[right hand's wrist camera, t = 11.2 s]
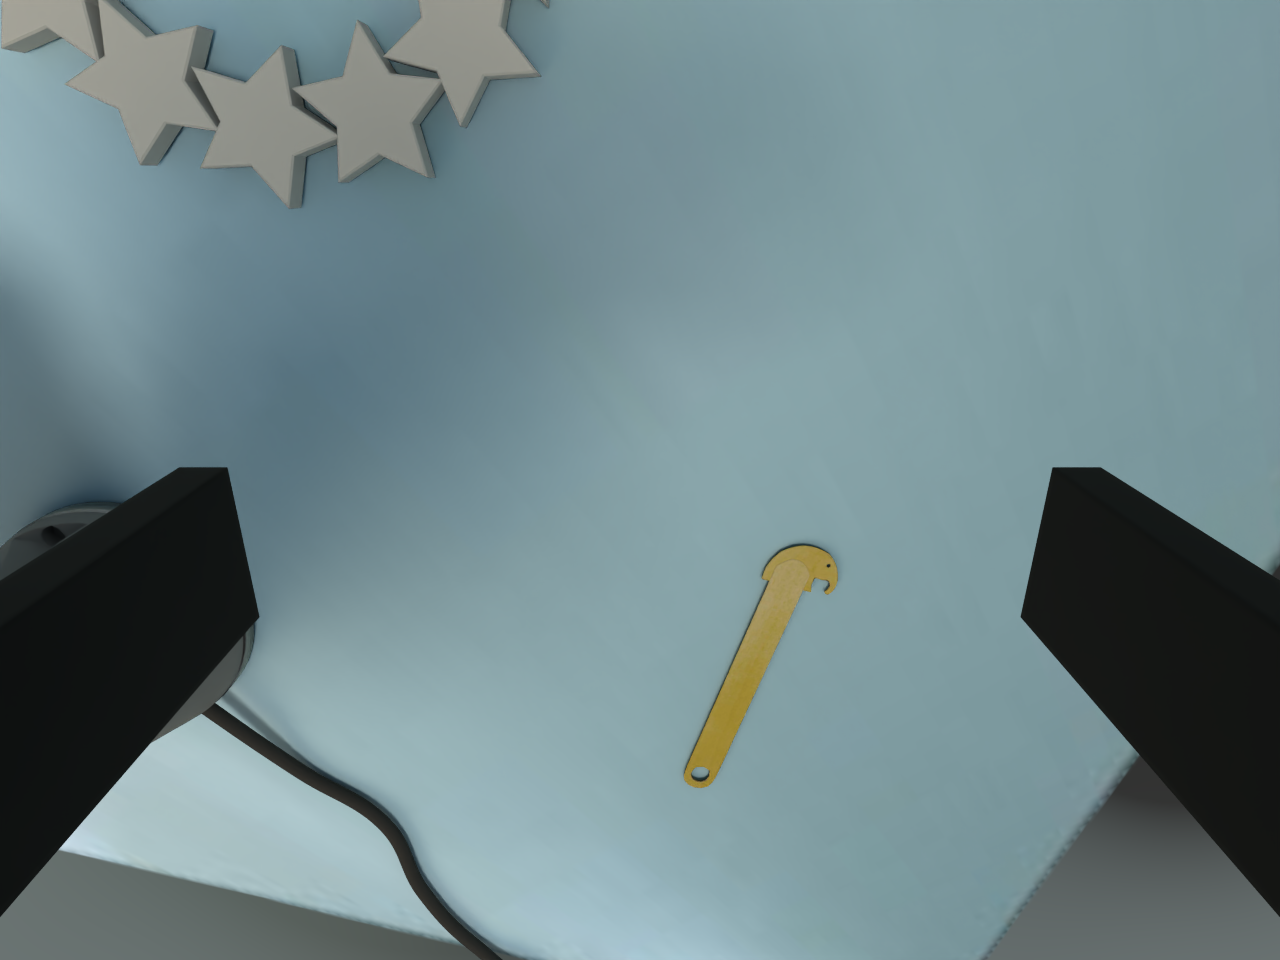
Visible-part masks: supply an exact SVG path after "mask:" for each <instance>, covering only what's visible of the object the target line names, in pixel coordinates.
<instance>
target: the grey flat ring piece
mask: <svg viewBox="0 0 1280 960" xmlns="http://www.w3.org/2000/svg"><path fill="white" fill-rule="evenodd" d="M541 1H542V2H543V3H544V4H545V5H546V6H547V7H548V8H549V0H541ZM510 3H511V0H419V7H420V13H421V18H420V19H419V20H418V21H417V22H416V23H415V24H414V25H413V26H412V27H411V28H410V29H409V30H408V31H407V32H406V33H405V34H404V35H403V36H402V37H401V38H400V39H399V41H398V42H397V43H396V44H395V45H394V46H393V47H392V48H391V49H390V50H389V51H388V52H387V53H386V54H384V52H383V50H382V49H381V47H380V45H379V44H378V42H377V40H376V39H375V37H374V35H373V34H372V32H371V30H370V29H369V27H368V25H366V24H364V23H362V22H360V21H359V20H357V22H356V26H355V30H354V34H353V37H352V41H351V45H350V49H349V53H348V57H347V61H346V64H345V68H344V72H343V76H341V77H337V78H333V79H328V80H324V81H320V82H315V83H311V84H307V85H303V86H300V80H299V74H298V69H297V63H296V57H295V51H294V49H291V48H288V47H285V46H283V45H281V46H280V47H279V48H278V49H277V50H276V51H275V52H274V53H273V54H272V55H271V56H270V57H269V59H268V60H267V61H266V62H265V63H264V64H263V65H262V66H261V67H260V68H259V69H258V70H257V71H256V72H255V73H254V74H253V76H252V77H251V78H250V79H249V80H248V81H247V82H244V81H241V80H237V79H234V78H231V77H228V76H224V75H221V74H218V73H215V72H212V71H208V70H205V69H204V68H205V64H206V60H207V56H208V52H209V48H210V43H211V39H212V35H213V30H210V29H207V28H204V27H201V26H198V25H196V26H192V27H188V28H183V29H179V30H175V31H171V32H166V33H162V34H158V35H156V34H155V33H153V32H152V31H151V30H150V29H149V28H148V27H147V26H146V25H145V24H143V23H142V22H141V21H140V20H139V19H138V18H137V17H136V16H135V15H133V14H132V13H131V12H130V11H129V10H128V9H127V8H126V7H125V6H123V5H122V4H121V3H120V2H119V1H118V0H2V49H7V50H12V51H17V52H22V53H26V52H28V51H30V50H33V49H35V48H37V47H39V46H42V45H44V44H46V43H48V42H51V41H53V40H55V39H57V38H60V37H62V38H63V39H65V40H66V41H67V42H69V43H70V44H72V45H73V46H75V47H76V48H78V49H79V50H81V51H82V52H84V53H85V54H86V55H88V56H89V57H91V58H92V59H94V60H95V61H96V62H95V63H93V64H92V65H91V66H89V67H88V68H86V69H85V70H83V71H82V72H81V73H79V74H78V75H76V76H75V77H74V78H72V79H71V80H69V81H68V82H66V83H65V85H67V86H69V87H72V88H74V89H76V90H78V91H80V92H82V93H85V94H87V95H89V96H91V97H93V98H95V99H98V100H100V101H102V102H104V103H106V104H108V105H111V106H113V107H115V108H117V109H118V110H119V112H120V115H121V117H122V120H123V123H124V125H125V128H126V130H127V133H128V136H129V138H130V141H131V143H132V146H133V148H134V151H135V154H136V156H137V159H138V161H139V164H140V165H153V166H157V165H158V164H159V162H160V160H161V159H162V157H163V156H164V154H165V153H166V151H167V150H168V148H169V147H170V145H171V143H172V142H173V140H174V139H175V137H176V136H177V134H178V133H179V131H180V129H181V128H182V126H185V127H192V128H198V129H205V130H212V131H216V132H215V135H214V137H213V139H212V142H211V144H210V146H209V149H208V151H207V153H206V156H205V158H204V160H203V162H202V165H201V167H200V168H204V169H219V168H238V167H252V168H253V169H254V170H255V171H256V172H257V173H258V174H259V176H260V177H261V178H262V179H263V180H264V181H265V182H266V183H267V185H268V186H269V187H270V188H271V189H272V190H273V191H274V192H275V194H276V195H277V196H278V197H279V198H280V199H281V200H282V201H283V203H284V204H285V205H286V206H287V207H288V208H289V209H294V208H301V203H302V193H303V184H304V174H305V164H306V157H307V156H309V155H312V154H314V153H317V152H319V151H321V150H324V149H326V148H329V147H331V146H334V145H336V144H337V151H338V183H349V182H350V181H352V180H353V179H355V178H356V177H357V176H359V175H360V174H362V173H363V172H365V171H366V170H368V169H369V168H371V167H372V166H373V165H375V164H376V163H378V162H379V161H381V160H382V159H384V158H387V159H390V160H392V161H394V162H396V163H398V164H400V165H402V166H404V167H407V168H409V169H411V170H413V171H415V172H417V173H419V174H421V175H424V176H426V177H428V178H436V177H435V174H434V171H433V167H432V164H431V160H430V157H429V154H428V150H427V147H426V144H425V140H424V137H423V134H422V130H421V127H420V124H421V122H422V121H423V120H424V118H425V117H426V116H427V114H428V113H429V111H430V110H431V109H432V107H433V106H434V105H435V103H436V102H437V101H438V99H439V98H440V97H441V95H442V94H443V92H444V91H445V92H446V94H447V97H448V99H449V101H450V104H451V106H452V108H453V111H454V113H455V115H456V118H457V120H458V122H459V125H460V126H461V127H465V128H467V126H468V124H469V122H470V120H471V118H472V116H473V114H474V112H475V110H476V108H477V105H478V103H479V101H480V99H481V97H482V95H483V93H484V91H485V89H486V87H487V85H488V83H489V81H490V80H495V79H511V78H528V77H541V75H540V74H539V73H538V72H537V70H536V69H535V68H534V67H533V65H532V64H531V63H530V62H529V60H528V59H527V58H526V56H525V55H524V54H523V53H522V51H521V50H520V49H519V48H518V46H517V45H516V44H515V43H514V41H513V40H512V39H511V38H510V36H509V35H508V34H507V32H506V26H507V21H508V15H509V9H510ZM388 59H389V60H391V61H394V62H398V63H402V64H405V65H409V66H413V67H416V68H420V69H424V70H428V71H431V72H435V73H438V76H439V78H440V79H436V78H427V77H418V76H409V75H400V74H397V73H396V72H395V70H394V68H393V67H392V65H391V63H390V62H389V60H388ZM303 98H304V99H305V100H306V101H307V102H309V103H310V104H311V105H312V106H313V107H314V108H315V109H317V110H318V111H319V112H320V113H321V114H322V115H324V116H325V117H326V118H327V119H328V120H329V121H331V122H332V123H333V124H334V125H335V126H336V127H337V129H336V128H334V127H333V126H331V125H330V124H328V123H327V122H325V121H324V120H322V119H321V118H319V117H318V116H316V115H315V114H313V113H312V112H310V111H309V110H307V109H305V108H304V103H303Z"/></svg>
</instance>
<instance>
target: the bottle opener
mask: <svg viewBox="0 0 1280 960" xmlns="http://www.w3.org/2000/svg"><path fill="white" fill-rule="evenodd" d="M827 564H830V567H827ZM815 578H818V579H821V580H826V581H828V582H829V583H830V586H829V588H828V589H827V590H825V591H824V592H825V594H829V593H831V592H832V591H833V590H834V588H835V587H836V584H837V581H838V573H837V567H836V564H835V562H834V560H833V559H832V557H831V556H830V554H829V553H827V552H825V551H823V550H821V549H819V548H816V547H812V546H805V545H803V546H794V547H791V548H788V549H785V550H783V551H780V552H779V553H778V554H777V555H776V556H775V557H774V558H773V559H772V560H771V561H770V562H769V563H768V565H767V566H766V568H765V570H764V573H763V575H762V579H764V580H768V581H769V583H768V585H767V587H766V590H765V592H764V594H763V596H762V599H761V601H760V603H759V605H758V607H757V610H756V612H755V614H754V616H753V619H752V621H751V623H750V625H749V628H748V630H747V632H746V634H745V637H744V639H743V641H742V643H741V646H740V648H739V650H738V652H737V655H736V657H735V659H734V661H733V664H732V666H731V668H730V670H729V673H728V675H727V677H726V679H725V682H724V684H723V686H722V688H721V691H720V693H719V695H718V697H717V700H716V702H715V704H714V706H713V709H712V711H711V713H710V715H709V718H708V720H707V722H706V724H705V726H704V729H703V731H702V733H701V735H700V738H699V740H698V742H697V744H696V747H695V749H694V751H693V753H692V756H691V758H690V760H689V763H688V765H687V767H686V770H685V773H684V780H685V781H686V782H687V783H688V785H691V786H693V787H697V788H703V787H707V786H709V785H710V784H711V783H712V782H713V780H714V779H715V777H716V775H717V773H718V771H719V769H720V767H721V765H722V763H723V761H724V758H725V756H726V754H727V752H728V750H729V748H730V746H731V743H732V741H733V739H734V737H735V735H736V733H737V730H738V728H739V726H740V724H741V722H742V720H743V718H744V715H745V713H746V711H747V709H748V707H749V705H750V703H751V700H752V698H753V696H754V694H755V692H756V690H757V688H758V685H759V683H760V681H761V679H762V677H763V675H764V673H765V670H766V668H767V666H768V664H769V662H770V660H771V658H772V655H773V653H774V651H775V649H776V647H777V645H778V643H779V640H780V638H781V636H782V634H783V632H784V630H785V628H786V625H787V623H788V621H789V619H790V617H791V615H792V613H793V610H794V608H795V606H796V604H797V602H798V600H799V598H800V595H801V593H802V591H803V590H804V591H808V592H811V584H812V582H813V580H814V579H815ZM696 767H705V768H707V769H708V770H709V771H710V774H709V777H708V778H707V779H705V780H702V781H698V780H695V779H693V778H692V776H691V772H692V771H693V769H694V768H696Z"/></svg>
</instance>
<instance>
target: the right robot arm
mask: <svg viewBox="0 0 1280 960" xmlns="http://www.w3.org/2000/svg"><path fill="white" fill-rule="evenodd" d="M258 618H259V613H258V608H257V603H256V599H255V594H254V589H253V585H252V580H251V575H250V571H249V566H248V561H247V557H246V552H245V547H244V543H243V538H242V533H241V529H240V524H239V519H238V515H237V510H236V505H235V501H234V496H233V491H232V487H231V482H230V477H229V473H228V468H227V467H179V468H178V469H176V470H174V471H173V472H171V473H170V474H168V475H167V476H165V477H163V478H162V479H160V480H159V481H157V482H155V483H154V484H152V485H151V486H149V487H147V488H146V489H144V490H143V491H141V492H140V493H138V494H136V495H135V496H133V497H132V498H130V499H128V500H127V501H125V502H124V503H122V504H121V503H113V502H88V503H81V504H74V505H71V506H67V507H63V508H60V509H58V510H55V511H53V512H51V513H49V514H47V515H45V516H43V517H41V518H39V519H38V520H36V521H34V522H32V523H31V524H29V525H27V526H26V527H24V528H23V529H21V530H20V531H19V532H17V533H16V534H15V535H14V536H13V537H12V538H10V539H9V540H8V541H7V542H6V543H5V544H4V545H3V546H2V547H1V548H0V917H1V915H2V914H3V913H4V912H5V911H6V910H7V908H8V907H9V906H10V905H11V904H12V903H13V902H14V900H15V899H16V898H17V897H18V896H19V895H20V893H21V892H22V891H23V890H24V889H25V888H26V887H27V885H28V884H29V883H30V882H31V881H32V880H33V878H34V877H35V876H36V875H37V874H38V873H39V871H40V870H41V869H42V868H43V867H44V866H45V865H46V863H47V862H48V861H49V860H50V859H51V858H52V856H53V855H54V854H55V853H56V852H57V851H58V849H59V848H60V847H61V846H62V845H63V844H64V843H65V841H66V840H67V839H68V838H69V837H70V836H71V834H72V833H73V832H74V831H75V830H76V829H77V827H78V826H79V825H80V824H81V823H82V822H83V821H84V819H85V818H86V817H87V816H88V815H89V814H90V812H91V811H92V810H93V809H94V808H95V807H96V805H97V804H98V803H99V802H100V801H101V800H102V799H103V797H104V796H105V795H106V794H107V793H108V792H109V790H110V789H111V788H112V787H113V786H114V785H115V784H116V782H117V781H118V780H119V779H120V778H121V777H122V775H123V774H124V773H125V772H126V771H127V770H128V768H129V767H130V766H131V765H132V764H133V763H134V762H135V760H136V759H137V758H138V757H139V756H140V755H141V753H142V752H143V751H144V750H145V749H146V748H147V746H148V745H149V744H150V743H151V742H153V741H155V740H157V739H158V738H160V737H162V736H164V735H165V734H167V733H169V732H171V731H172V730H174V729H176V728H178V727H179V726H181V725H183V724H185V723H186V722H188V721H190V720H191V719H193V718H195V717H197V716H198V715H200V714H203V715H204V716H206V717H207V718H209V719H210V720H212V721H213V722H214V723H216V724H217V725H219V726H220V727H222V728H223V729H225V730H226V731H227V732H229V733H230V734H232V735H233V736H235V737H236V738H238V739H239V740H240V741H242V742H243V743H245V744H246V745H248V746H249V747H251V748H252V749H254V750H255V751H257V752H258V753H260V754H261V755H263V756H264V757H266V758H267V759H269V760H270V761H272V762H273V763H275V764H276V765H278V766H279V767H281V768H282V769H284V770H285V771H287V772H288V773H290V774H292V775H293V776H295V777H296V778H298V779H299V780H301V781H303V782H304V783H306V784H308V785H309V786H311V787H313V788H315V789H317V790H318V791H320V792H322V793H324V794H326V795H328V796H330V797H332V798H334V799H336V800H338V801H340V802H342V803H343V804H345V805H347V806H349V807H351V808H352V809H354V810H356V811H357V812H359V813H360V814H362V815H363V816H364V817H366V818H367V819H368V820H370V821H371V822H372V823H373V824H374V825H375V826H376V827H378V828H379V829H380V831H381V832H382V833H383V834H384V835H385V836H386V837H387V839H388V840H389V842H390V843H391V845H392V846H393V848H394V850H395V852H396V854H397V856H398V858H399V861H400V863H401V866H402V868H403V871H404V873H405V875H406V878H407V880H408V882H409V884H410V885H411V887H412V889H413V890H414V892H415V893H416V895H417V896H418V897H419V899H420V900H421V901H422V903H423V904H424V905H425V906H426V908H427V909H428V910H429V911H430V913H431V914H432V915H433V916H434V917H435V918H436V920H437V921H438V922H439V923H440V924H441V925H442V926H443V927H444V928H445V929H446V930H447V931H448V932H449V933H450V934H451V935H452V936H453V937H454V938H456V939H457V940H458V941H459V942H460V943H461V944H463V945H464V946H465V947H466V948H468V949H469V950H470V951H472V952H473V953H474V954H475V955H477V956H478V957H479V958H480V959H481V960H502V959H501V958H500V957H499V956H497V955H496V954H495V953H494V952H493V951H492V950H491V949H489V948H488V947H487V946H486V945H485V944H484V943H482V942H481V941H480V940H479V939H477V938H476V937H475V936H474V935H472V934H471V933H470V932H469V931H468V930H466V929H465V928H464V927H463V926H462V925H461V924H460V923H459V922H458V921H457V920H456V919H455V918H454V917H453V916H452V915H451V914H450V913H449V912H448V911H447V910H446V909H445V907H444V906H443V905H442V904H441V903H440V901H439V900H438V899H437V898H436V896H435V895H434V894H433V892H432V891H431V890H430V888H429V887H428V886H427V884H426V883H425V881H424V880H423V878H422V876H421V874H420V872H419V870H418V868H417V866H416V863H415V861H414V858H413V856H412V853H411V851H410V848H409V846H408V844H407V842H406V840H405V838H404V837H403V835H402V833H401V832H400V830H399V829H398V828H397V826H396V825H395V824H394V823H393V822H392V821H391V820H390V819H389V818H388V817H387V816H386V815H385V814H384V813H383V812H382V811H381V810H380V809H378V808H377V807H376V806H374V805H373V804H372V803H370V802H369V801H367V800H366V799H364V798H363V797H361V796H359V795H358V794H356V793H354V792H352V791H350V790H349V789H347V788H345V787H343V786H341V785H339V784H337V783H335V782H333V781H331V780H329V779H328V778H326V777H324V776H322V775H320V774H319V773H317V772H315V771H314V770H312V769H310V768H309V767H307V766H306V765H304V764H303V763H301V762H299V761H298V760H296V759H295V758H293V757H292V756H290V755H289V754H287V753H286V752H284V751H283V750H282V749H280V748H279V747H277V746H276V745H274V744H273V743H271V742H270V741H268V740H267V739H265V738H264V737H263V736H261V735H260V734H258V733H257V732H255V731H254V730H252V729H251V728H250V727H248V726H247V725H245V724H244V723H242V722H241V721H240V720H238V719H237V718H235V717H234V716H233V715H231V714H230V713H228V712H227V711H226V710H224V709H223V708H221V707H220V706H218V705H217V704H216V703H215V702H217V701H218V700H219V699H220V698H221V697H222V696H223V695H224V694H225V693H226V692H227V691H228V689H229V688H230V687H231V686H232V685H233V683H234V682H235V681H236V680H237V678H238V677H239V676H240V674H241V673H242V671H243V670H244V668H245V666H246V664H247V662H248V660H249V657H250V654H251V651H252V646H253V640H254V623H255V622H256V620H257V619H258ZM1021 618H1022V619H1023V620H1024V622H1025V623H1026V624H1027V625H1028V626H1029V627H1030V628H1031V630H1032V631H1033V632H1034V633H1035V634H1036V635H1037V637H1038V638H1039V639H1040V640H1041V641H1042V642H1043V643H1044V645H1045V646H1046V647H1047V648H1048V649H1049V650H1050V652H1051V653H1052V654H1053V655H1054V656H1055V657H1056V659H1057V660H1058V661H1059V662H1060V663H1061V664H1062V665H1063V667H1064V668H1065V669H1066V670H1067V671H1068V672H1069V674H1070V675H1071V676H1072V677H1073V678H1074V679H1075V681H1076V682H1077V683H1078V684H1079V685H1080V686H1081V687H1082V689H1083V690H1084V691H1085V692H1086V693H1087V694H1088V696H1089V697H1090V698H1091V699H1092V700H1093V701H1094V703H1095V704H1096V705H1097V706H1098V707H1099V708H1100V709H1101V711H1102V712H1103V713H1104V714H1105V715H1106V716H1107V718H1108V719H1109V720H1110V721H1111V722H1112V723H1113V724H1114V726H1115V727H1116V728H1117V729H1118V730H1119V731H1120V733H1121V734H1122V735H1123V736H1124V737H1125V738H1126V740H1127V741H1128V742H1129V743H1130V744H1131V745H1132V746H1133V748H1134V749H1135V750H1136V751H1137V752H1138V753H1139V755H1140V756H1141V757H1142V758H1143V759H1144V760H1145V762H1146V763H1147V764H1148V765H1149V766H1150V767H1151V768H1152V770H1153V771H1154V772H1155V773H1156V774H1157V775H1158V776H1159V778H1160V779H1161V780H1162V781H1163V782H1164V784H1165V785H1166V786H1167V787H1168V788H1169V789H1170V790H1171V792H1172V793H1173V794H1174V795H1175V796H1176V797H1177V799H1178V800H1179V801H1180V802H1181V803H1182V804H1183V805H1184V807H1185V808H1186V809H1187V810H1188V811H1189V812H1190V814H1191V815H1192V816H1193V817H1194V818H1195V819H1196V821H1197V822H1198V823H1199V824H1200V825H1201V826H1202V827H1203V829H1204V830H1205V831H1206V832H1207V833H1208V834H1209V836H1210V837H1211V838H1212V839H1213V840H1214V841H1215V843H1216V844H1217V845H1218V846H1219V847H1220V848H1221V849H1222V851H1223V852H1224V853H1225V854H1226V855H1227V856H1228V858H1229V859H1230V860H1231V861H1232V862H1233V863H1234V865H1235V866H1236V867H1237V868H1238V869H1239V870H1240V871H1241V873H1242V874H1243V875H1244V876H1245V877H1246V878H1247V879H1248V881H1249V882H1250V883H1251V884H1252V885H1253V887H1254V888H1255V889H1256V890H1257V891H1258V892H1259V893H1260V895H1261V896H1262V897H1263V898H1264V899H1265V900H1266V902H1267V903H1268V904H1269V905H1270V906H1271V907H1272V908H1273V910H1274V911H1275V912H1276V913H1277V914H1278V915H1279V917H1280V580H1278V579H1277V578H1275V577H1273V576H1272V575H1270V574H1269V573H1267V572H1266V571H1264V570H1262V569H1261V568H1259V567H1258V566H1256V565H1254V564H1253V563H1251V562H1250V561H1248V560H1247V559H1245V558H1243V557H1242V556H1240V555H1239V554H1237V553H1235V552H1234V551H1232V550H1231V549H1229V548H1228V547H1226V546H1224V545H1223V544H1221V543H1220V542H1218V541H1216V540H1215V539H1213V538H1212V537H1210V536H1209V535H1207V534H1205V533H1204V532H1202V531H1201V530H1199V529H1197V528H1196V527H1194V526H1193V525H1191V524H1190V523H1188V522H1186V521H1185V520H1183V519H1182V518H1180V517H1178V516H1177V515H1175V514H1174V513H1172V512H1171V511H1169V510H1167V509H1166V508H1164V507H1163V506H1161V505H1159V504H1158V503H1156V502H1155V501H1153V500H1152V499H1150V498H1148V497H1147V496H1145V495H1144V494H1142V493H1140V492H1139V491H1137V490H1136V489H1134V488H1133V487H1131V486H1129V485H1128V484H1126V483H1125V482H1123V481H1121V480H1120V479H1118V478H1117V477H1115V476H1113V475H1112V474H1110V473H1109V472H1107V471H1106V470H1104V469H1102V468H1101V467H1053V468H1052V473H1051V477H1050V482H1049V487H1048V491H1047V496H1046V501H1045V505H1044V510H1043V515H1042V519H1041V524H1040V529H1039V533H1038V538H1037V543H1036V547H1035V552H1034V557H1033V561H1032V566H1031V571H1030V575H1029V580H1028V585H1027V589H1026V594H1025V599H1024V603H1023V608H1022V613H1021Z"/></svg>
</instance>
